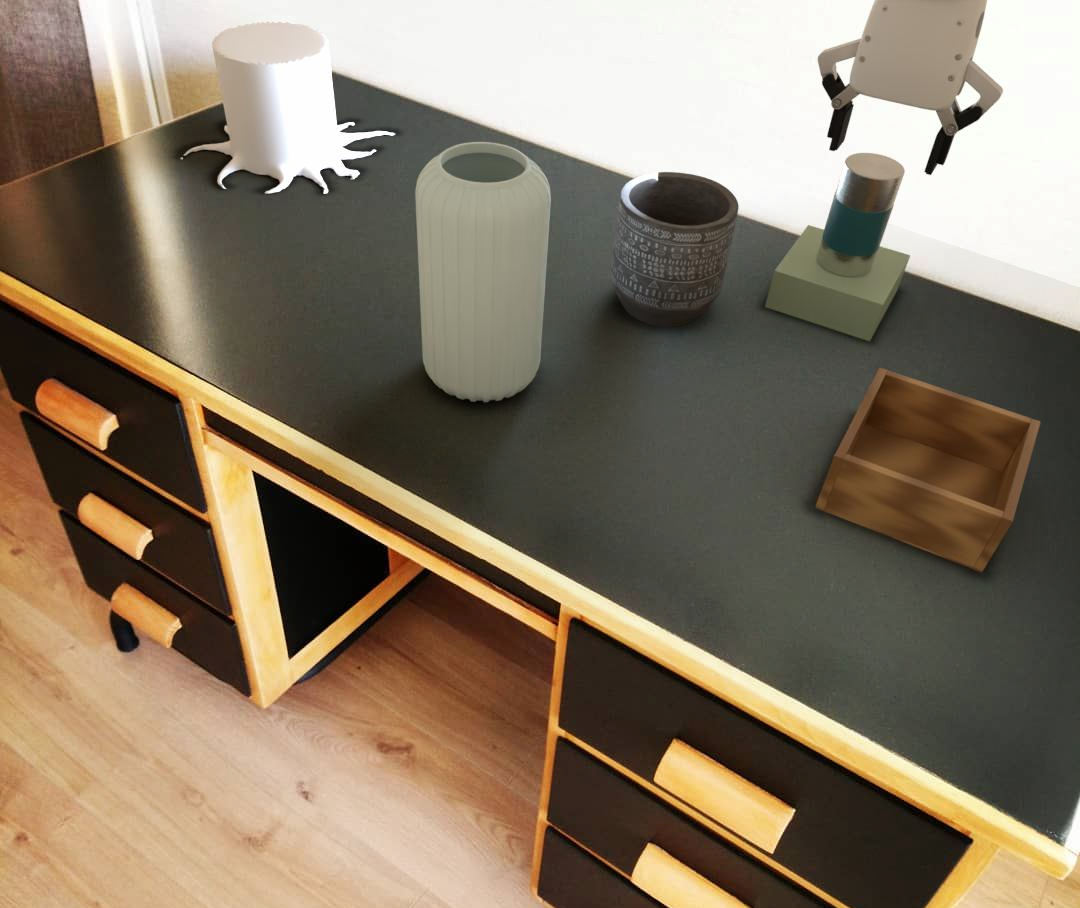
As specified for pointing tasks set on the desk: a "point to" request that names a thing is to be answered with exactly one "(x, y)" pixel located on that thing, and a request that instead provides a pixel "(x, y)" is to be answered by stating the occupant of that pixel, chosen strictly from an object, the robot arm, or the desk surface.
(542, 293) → the vase
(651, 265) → the planter
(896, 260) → the stand
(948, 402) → the wooden box
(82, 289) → the desk surface
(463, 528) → the desk surface
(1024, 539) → the desk surface
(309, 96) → the white tree stump model
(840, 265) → the tea tin
